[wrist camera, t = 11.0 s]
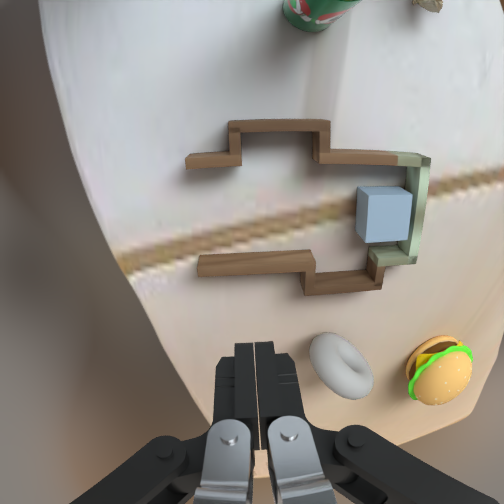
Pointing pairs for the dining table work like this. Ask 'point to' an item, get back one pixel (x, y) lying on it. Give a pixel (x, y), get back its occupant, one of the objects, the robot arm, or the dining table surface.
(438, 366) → the toy cheeseburger
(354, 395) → the donut
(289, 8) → the soda can
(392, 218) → the block
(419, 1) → the bone
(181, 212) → the dining table surface
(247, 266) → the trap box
